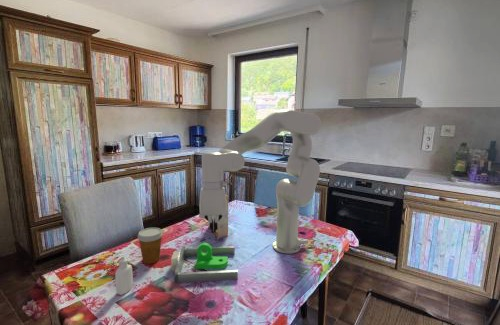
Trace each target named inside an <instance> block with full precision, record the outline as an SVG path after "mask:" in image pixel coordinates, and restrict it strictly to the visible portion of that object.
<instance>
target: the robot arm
mask: <svg viewBox="0 0 500 325" xmlns="http://www.w3.org/2000/svg"><path fill="white" fill-rule="evenodd" d="M322 126H323V125H322V120H321V119H320V117H319V116H318V115H316V114H315V113H310V112H309V113H308V112H303V111H298V110H293V109H280V110H279V109H278V110H274V111H272V112H271V113H270V114H268V115H267V116H266V117H264V118H263V119H262V120H261V121H260V122H258V124H256V125H255V126H253V127H252V128H251V129H250V130H248V131H245V132H243V133H242V134H240V135H238V136H237V137H235V138H233V139H232V140H230V141H229V142H228V143H226V145H224V146H223V147H221V148H220V149H219V150H218V151H206V152H204V153H201V154H202V155H201V177H202V178H201V183H202V185H201V186H202V187H201V188H200V191H199V206H198V207H199V208H198V209H199V215H198V217H199V219H204V220H206V221H207V222H208V224H209V223H210V229H209V231H211V230H212V231H211V234H214V233H216V230H218V225H217V223H218V221H219V220H220V219H221V218H223V217H227V203H226V195H227V194H226V187H224V186H227V184H228V183H227V181H224V180H223V178H224V177H223V172H238V171H240V170H241V169H243V167H244V166H245V162H246V160H245V157H244V156H243V155H244V154H245V153H247V152H250V151H252V150H257V149H260V148H264V147H265V146H267V144H269V143H270V142H271V141H272V140H273V139H274V138H275V137H277V136H278V135H279V134H280V133H282V132H289V133H290V135H291V138H292V147H291V150H290V154H289V155H288V160H287V164H286V168H285V170H286V171H285V172H286V173H287V174H288V175H289V176H291V177H293V178H295V179H297V180H295V179H290V178H283V179H281V180H279V181H278V182H277V184H276V187H275V195H276V196H275V197H276V204H277V207H276V208H277V210H276V211H277V212H276V234H275V235H276V238H275V241H273V242H272V248H273V249H274V250H275V251H276V252H278V253H281V254H286V255H291V254H292V255H293V254H297V253H298V252H300V251H301V247H302V246H301V245H308V244H309V241H308V239H304V238H302V237H299V236H298V234H299V232H298V231H299V215H300V214H299V213H300V210H299V207H303V208H304V207H307V205H309V204H310V202H311V201H312V200H313V197H314V194H315V191H316V188H317V184H318V180H319V179H320V173H321V166H320V165H319V162H318V161H317V160H315V159H314V158H311V153H312V150H313V142H312V138H311V136H315V135H317V134H318V133H319V132H320V131H321V129H322ZM211 215H215V219H214V227H213V219H212V216H211ZM213 231H214V233H213Z"/></svg>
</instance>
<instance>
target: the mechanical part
mask: <svg viewBox="0 0 500 325" xmlns="http://www.w3.org/2000/svg"><path fill="white" fill-rule="evenodd" d="M211 247H212V246H211V244H210V243H207V242H201V243H200V244H199V245H198V247H197V248H198V250H197V256H196V257H197V258H196V263H195V269H196V270H221V269H225V268H227V267H228V262H229V261H228V260H229V259H228V258H229V257H228V256H215V255H212V248H211ZM202 249H206V250H207V251H208V252H207V253H203V252H202V251H201V250H202Z"/></svg>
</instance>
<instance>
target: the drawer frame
mask: <svg viewBox="0 0 500 325" xmlns="http://www.w3.org/2000/svg"><path fill="white" fill-rule="evenodd" d="M211 248H212V256H221V255H235V248H236V247H235V246H234V245H233V246H232V245H231V246H211ZM197 250H198V247H186V245H182V246H181V249H180V251H173V253H172V256H171V258H170V260H171V261H170V264H171V266H170V267H171V269H170V270H171V272H172V273H174V283H175V284H178V283H179V284H180V283H197V282H198V283H200V282H213V281H214V282H215V281H216V282H217V281H233V280H234V281H235V280H238V279H239V272H238V271H239V270H238V269H229V270H210V271H192V272H191V271H190V272H189V271H188V272H187V271H186V272H182V270H183V266H184V262H185V257H197ZM201 251H202V252H203V253H207V252H208V251H207V250H206V249H202V250H201Z"/></svg>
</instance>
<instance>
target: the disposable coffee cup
mask: <svg viewBox="0 0 500 325" xmlns="http://www.w3.org/2000/svg"><path fill="white" fill-rule="evenodd" d="M163 234H164V232H162V229H161V228H159V227H147V228H144V229H143V228H142V229H141V230H139V232H138V234H137V239H138V242H139V247H140V253H141V257H142V263H144V264H150V265H151V264H154V263H157V262H158V261H159V260H160V256H161V248H162V247H161V245H162V237H163Z"/></svg>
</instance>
